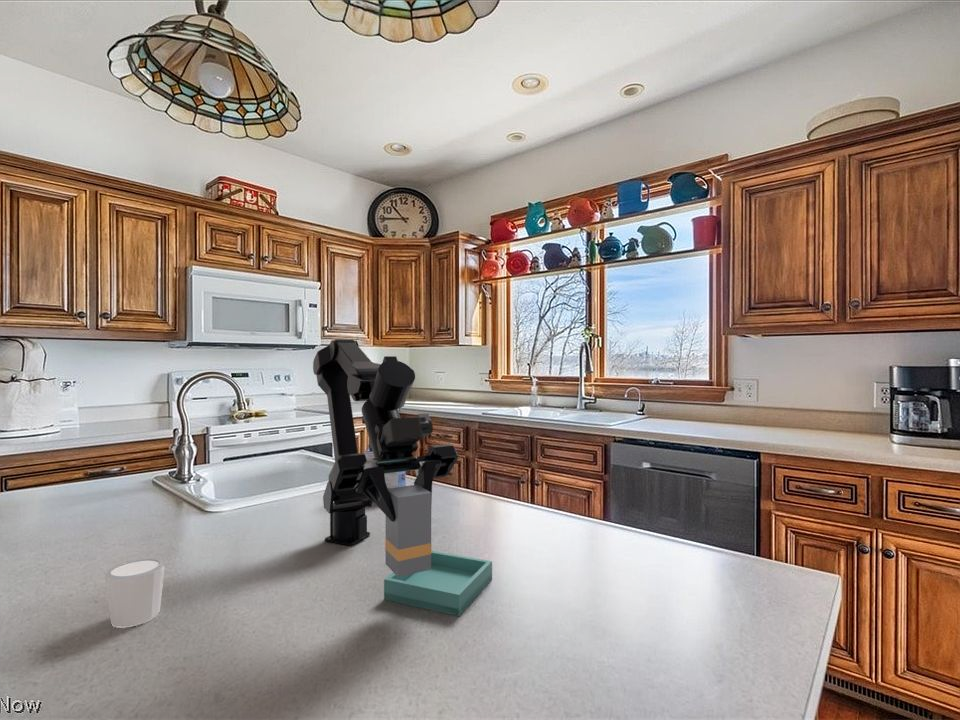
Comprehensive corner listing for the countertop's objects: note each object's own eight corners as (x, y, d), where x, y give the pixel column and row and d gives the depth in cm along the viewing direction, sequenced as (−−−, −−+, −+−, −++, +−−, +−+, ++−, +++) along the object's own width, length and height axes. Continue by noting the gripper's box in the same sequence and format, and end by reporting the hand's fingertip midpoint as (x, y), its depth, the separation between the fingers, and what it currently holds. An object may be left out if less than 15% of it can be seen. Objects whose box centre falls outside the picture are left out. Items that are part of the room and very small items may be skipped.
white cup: (125, 606, 72) (124, 558, 72) (174, 604, 73) (174, 556, 73) (92, 632, 65) (92, 579, 65) (147, 630, 66) (147, 577, 66)
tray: (384, 599, 74) (384, 579, 74) (425, 567, 86) (425, 549, 86) (459, 616, 69) (459, 594, 69) (492, 579, 81) (492, 561, 81)
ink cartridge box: (406, 494, 131) (406, 439, 130) (399, 500, 125) (399, 443, 125) (371, 492, 133) (371, 438, 132) (362, 498, 127) (362, 442, 127)
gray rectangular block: (385, 563, 73) (385, 489, 73) (417, 556, 75) (417, 484, 75) (397, 577, 69) (398, 497, 68) (431, 569, 71) (431, 492, 71)
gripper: (336, 398, 70) (359, 496, 61) (453, 393, 80) (489, 477, 70) (322, 445, 77) (341, 539, 68) (432, 435, 87) (462, 517, 77)
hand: (411, 516), depth 71 cm, fingers closed on gray rectangular block, 5 cm apart
